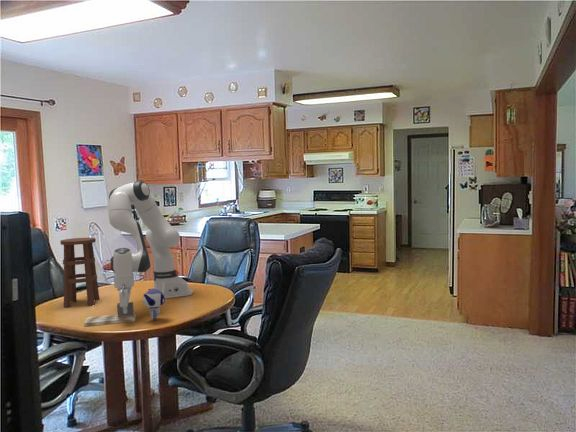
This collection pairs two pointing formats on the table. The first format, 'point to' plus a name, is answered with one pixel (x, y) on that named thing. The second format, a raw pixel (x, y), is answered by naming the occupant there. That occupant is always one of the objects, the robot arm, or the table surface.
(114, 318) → the board
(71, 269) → the stool
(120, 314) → the block
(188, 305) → the table surface
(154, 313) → the toy
